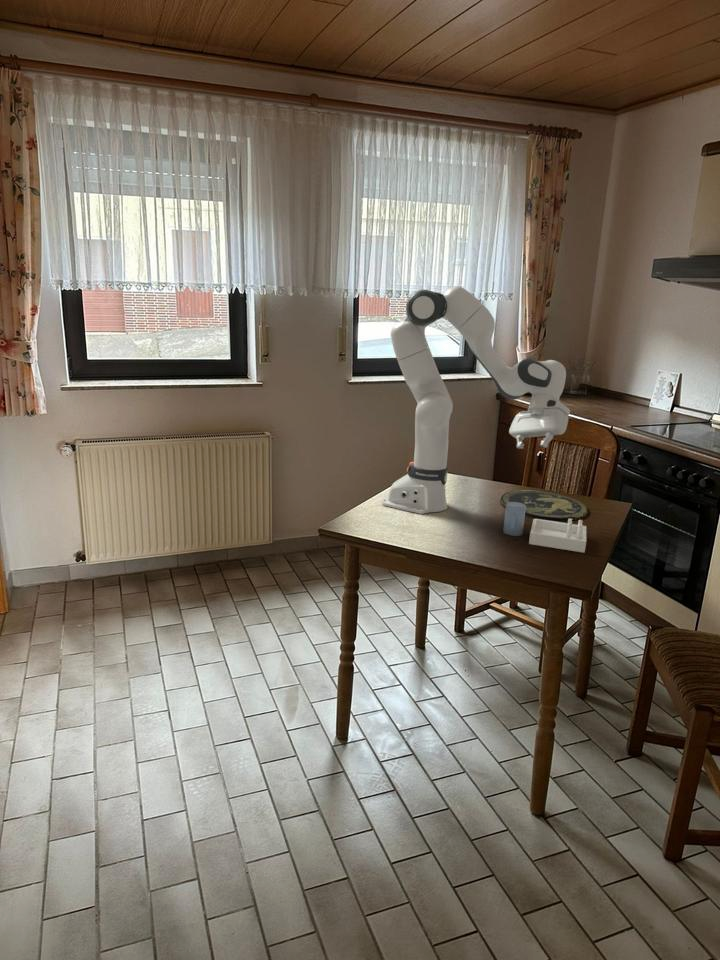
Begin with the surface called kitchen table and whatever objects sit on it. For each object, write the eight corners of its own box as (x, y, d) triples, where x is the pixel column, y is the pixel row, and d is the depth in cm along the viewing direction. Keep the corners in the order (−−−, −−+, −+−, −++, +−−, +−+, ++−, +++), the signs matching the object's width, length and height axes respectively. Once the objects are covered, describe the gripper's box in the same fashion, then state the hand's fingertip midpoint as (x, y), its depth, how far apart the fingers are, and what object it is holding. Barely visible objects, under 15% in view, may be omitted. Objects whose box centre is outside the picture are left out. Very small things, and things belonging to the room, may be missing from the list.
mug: (501, 535, 207) (504, 508, 204) (504, 527, 213) (507, 500, 211) (521, 538, 205) (524, 511, 202) (523, 530, 212) (526, 503, 209)
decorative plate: (500, 511, 224) (500, 485, 252) (499, 516, 225) (499, 490, 253) (593, 522, 219) (582, 494, 247) (592, 527, 220) (582, 499, 248)
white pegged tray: (528, 543, 201) (531, 525, 199) (532, 528, 214) (534, 510, 212) (584, 552, 197) (587, 533, 195) (584, 536, 209) (587, 518, 208)
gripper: (511, 407, 222) (500, 444, 218) (563, 400, 205) (551, 441, 202) (523, 416, 225) (512, 453, 221) (574, 410, 208) (563, 450, 205)
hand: (531, 447), depth 211 cm, fingers open, 8 cm apart
